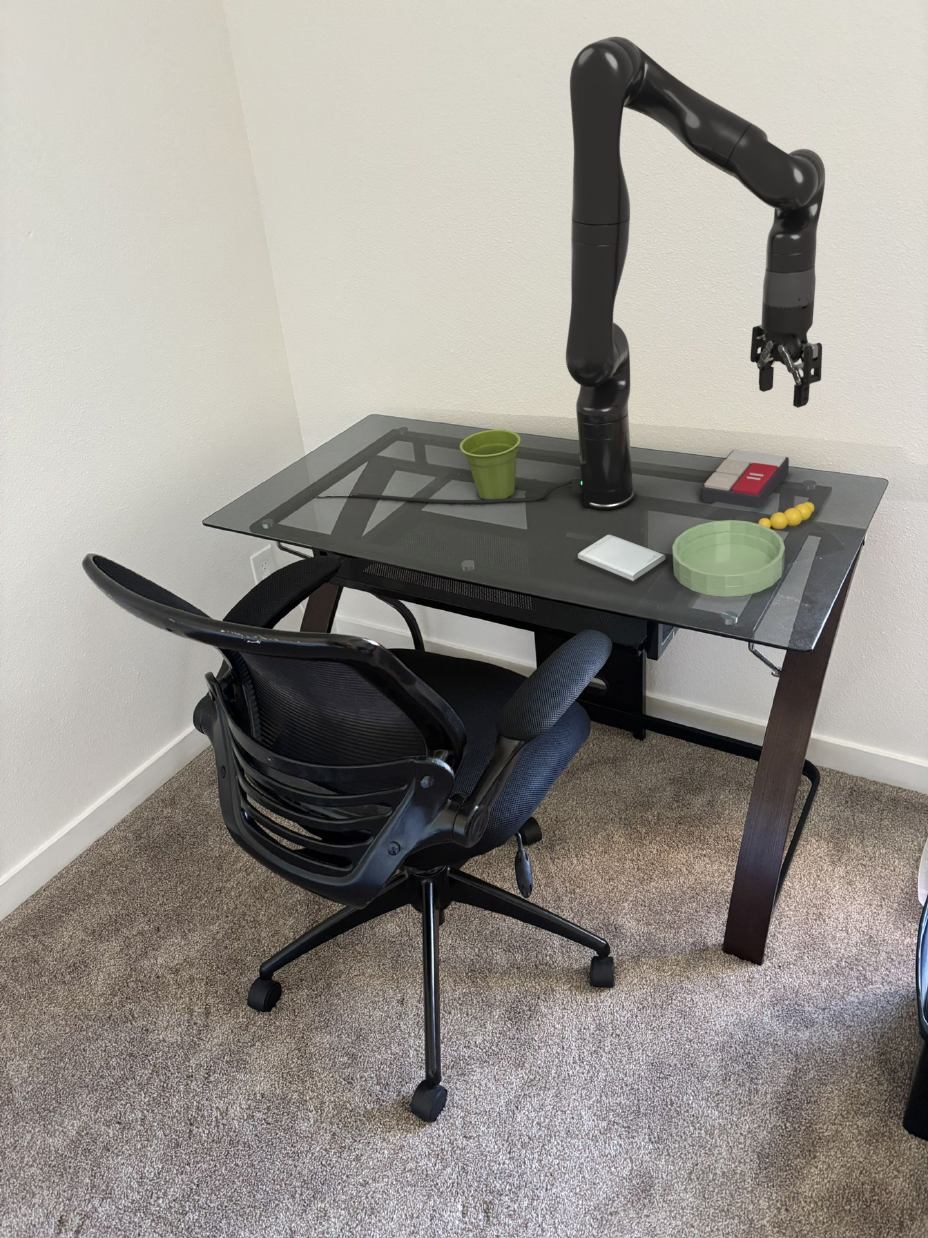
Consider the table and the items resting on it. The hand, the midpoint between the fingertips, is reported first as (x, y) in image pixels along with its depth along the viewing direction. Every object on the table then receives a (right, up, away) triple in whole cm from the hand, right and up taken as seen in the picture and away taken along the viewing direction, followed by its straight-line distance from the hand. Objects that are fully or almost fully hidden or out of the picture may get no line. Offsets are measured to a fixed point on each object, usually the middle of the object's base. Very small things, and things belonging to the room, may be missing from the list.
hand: (782, 397), depth 152 cm
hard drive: (-25, -26, +8) cm, 37 cm away
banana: (+5, -20, +9) cm, 22 cm away
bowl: (-9, -28, +1) cm, 29 cm away
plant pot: (-45, -11, +36) cm, 59 cm away
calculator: (+1, -12, +23) cm, 25 cm away
